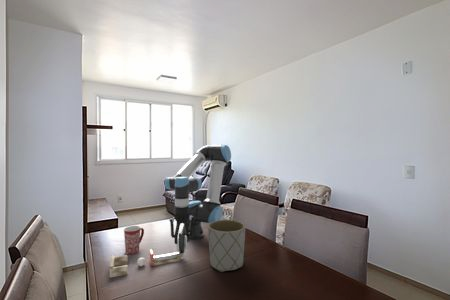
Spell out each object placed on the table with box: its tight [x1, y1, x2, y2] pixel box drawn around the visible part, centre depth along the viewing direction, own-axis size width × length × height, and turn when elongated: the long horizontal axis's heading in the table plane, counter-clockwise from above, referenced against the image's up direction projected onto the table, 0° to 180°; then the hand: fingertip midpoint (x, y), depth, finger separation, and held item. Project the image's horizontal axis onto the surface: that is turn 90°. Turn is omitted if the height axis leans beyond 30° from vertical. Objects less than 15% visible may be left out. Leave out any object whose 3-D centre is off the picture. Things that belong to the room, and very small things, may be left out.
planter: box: [207, 219, 246, 273], centre depth 118 cm, size 19×19×20 cm
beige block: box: [109, 254, 128, 278], centre depth 112 cm, size 8×12×5 cm, turn 23°
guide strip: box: [152, 254, 182, 267], centre depth 121 cm, size 14×4×3 cm, turn 113°
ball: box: [136, 257, 146, 267], centre depth 116 cm, size 4×4×4 cm
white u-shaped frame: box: [149, 232, 186, 267], centre depth 122 cm, size 18×6×13 cm, turn 113°
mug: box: [123, 225, 145, 255], centre depth 134 cm, size 13×9×14 cm
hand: (181, 248), depth 124 cm, fingers open, 4 cm apart
